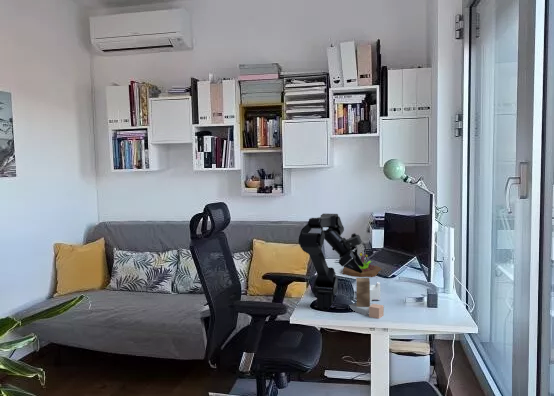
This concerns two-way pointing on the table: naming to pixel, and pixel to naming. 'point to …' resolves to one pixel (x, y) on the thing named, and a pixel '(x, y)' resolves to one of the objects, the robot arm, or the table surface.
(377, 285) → the bracket
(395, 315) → the table surface
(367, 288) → the walnut pillar
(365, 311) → the grey base block
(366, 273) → the plant
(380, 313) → the terracotta cube
